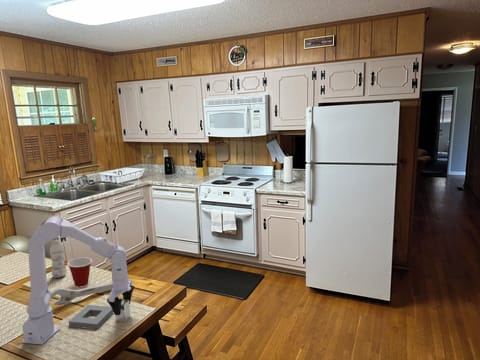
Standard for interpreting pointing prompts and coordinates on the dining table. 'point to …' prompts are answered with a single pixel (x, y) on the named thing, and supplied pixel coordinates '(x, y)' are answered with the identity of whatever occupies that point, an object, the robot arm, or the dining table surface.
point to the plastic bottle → (57, 259)
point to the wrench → (78, 293)
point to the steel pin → (124, 311)
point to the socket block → (96, 322)
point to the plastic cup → (80, 270)
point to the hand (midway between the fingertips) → (122, 309)
